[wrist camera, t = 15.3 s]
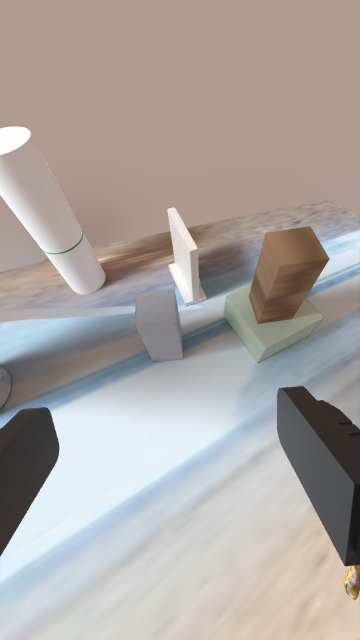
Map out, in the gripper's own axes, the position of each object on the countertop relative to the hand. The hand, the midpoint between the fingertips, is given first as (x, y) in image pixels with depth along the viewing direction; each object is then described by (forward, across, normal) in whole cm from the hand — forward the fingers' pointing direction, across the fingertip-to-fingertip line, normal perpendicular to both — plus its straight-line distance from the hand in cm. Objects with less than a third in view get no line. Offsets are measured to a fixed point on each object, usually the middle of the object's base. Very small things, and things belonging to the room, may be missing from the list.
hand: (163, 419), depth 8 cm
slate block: (+31, +2, +9) cm, 32 cm away
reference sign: (+40, -2, 0) cm, 40 cm away
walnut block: (+28, -14, +3) cm, 31 cm away
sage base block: (+32, -14, +8) cm, 36 cm away
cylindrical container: (+43, +18, -2) cm, 46 cm away
